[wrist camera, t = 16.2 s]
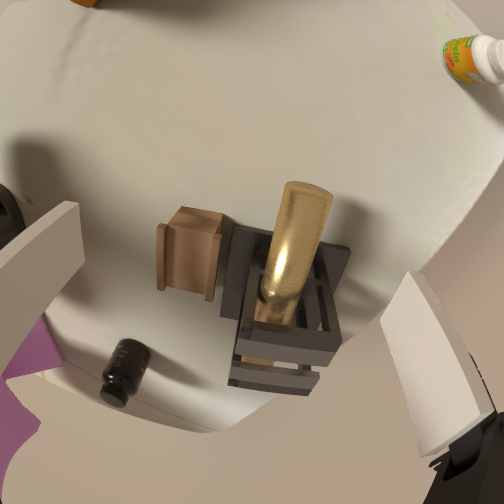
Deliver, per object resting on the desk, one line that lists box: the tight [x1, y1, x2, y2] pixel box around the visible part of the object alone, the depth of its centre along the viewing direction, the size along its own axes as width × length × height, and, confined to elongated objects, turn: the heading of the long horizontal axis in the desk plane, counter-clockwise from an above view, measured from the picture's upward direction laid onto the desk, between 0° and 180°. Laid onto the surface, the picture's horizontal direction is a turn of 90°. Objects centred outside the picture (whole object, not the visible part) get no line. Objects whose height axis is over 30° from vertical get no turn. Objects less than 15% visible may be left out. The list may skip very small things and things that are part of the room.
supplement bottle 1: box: [100, 339, 150, 408], centre depth 42 cm, size 7×7×12 cm
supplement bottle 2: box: [441, 35, 504, 85], centre depth 15 cm, size 5×5×10 cm
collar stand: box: [220, 224, 351, 396], centre depth 31 cm, size 14×14×13 cm
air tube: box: [241, 181, 333, 366], centre depth 28 cm, size 24×4×4 cm
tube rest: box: [157, 206, 223, 302], centre depth 31 cm, size 6×8×6 cm
